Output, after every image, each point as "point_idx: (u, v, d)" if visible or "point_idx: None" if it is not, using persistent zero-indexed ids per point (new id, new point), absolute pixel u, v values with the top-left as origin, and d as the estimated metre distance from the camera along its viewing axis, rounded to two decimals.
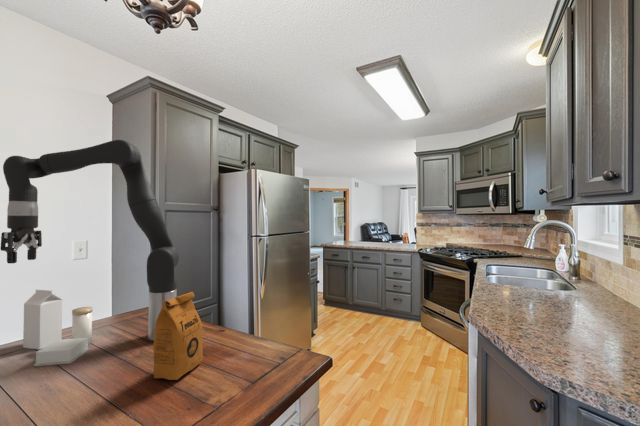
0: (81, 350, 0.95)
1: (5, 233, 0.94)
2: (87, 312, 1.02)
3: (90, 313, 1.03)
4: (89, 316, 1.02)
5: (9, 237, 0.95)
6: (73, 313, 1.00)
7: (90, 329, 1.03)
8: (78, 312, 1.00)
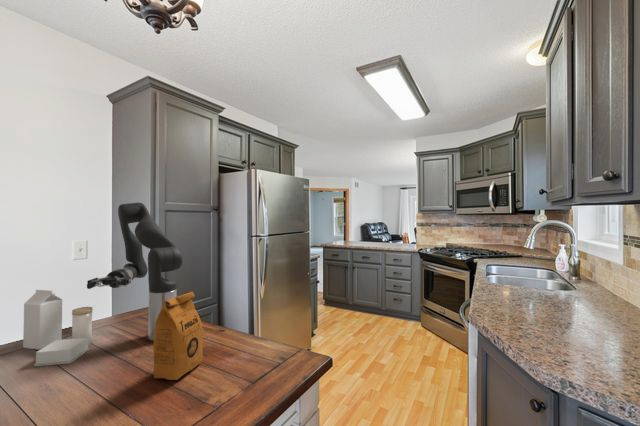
0: (81, 350, 0.95)
1: None
2: (87, 312, 1.02)
3: (90, 313, 1.03)
4: (89, 316, 1.02)
5: None
6: (73, 313, 1.00)
7: (90, 329, 1.03)
8: (78, 312, 1.00)
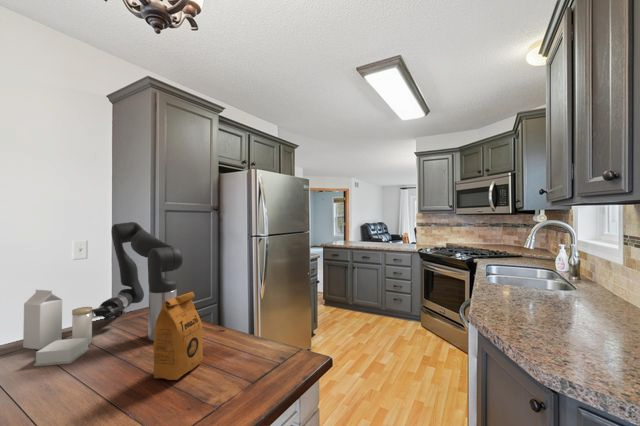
0: (81, 350, 0.95)
1: None
2: (87, 312, 1.02)
3: (90, 313, 1.03)
4: (89, 316, 1.02)
5: None
6: (73, 313, 1.00)
7: (90, 329, 1.03)
8: (78, 312, 1.00)
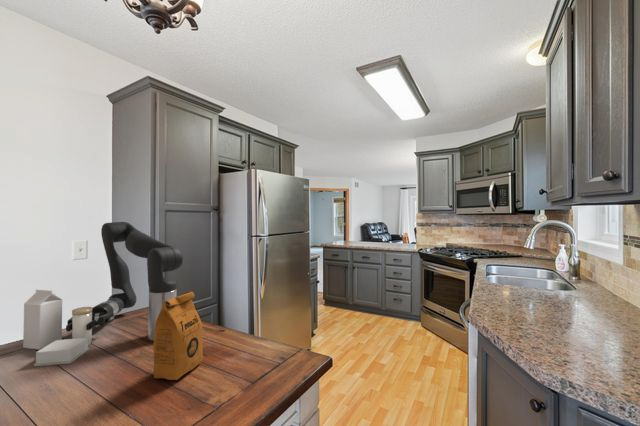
0: (81, 350, 0.95)
1: None
2: (87, 312, 1.02)
3: (90, 313, 1.03)
4: (89, 316, 1.02)
5: None
6: (73, 313, 1.00)
7: (90, 329, 1.03)
8: (78, 312, 1.00)
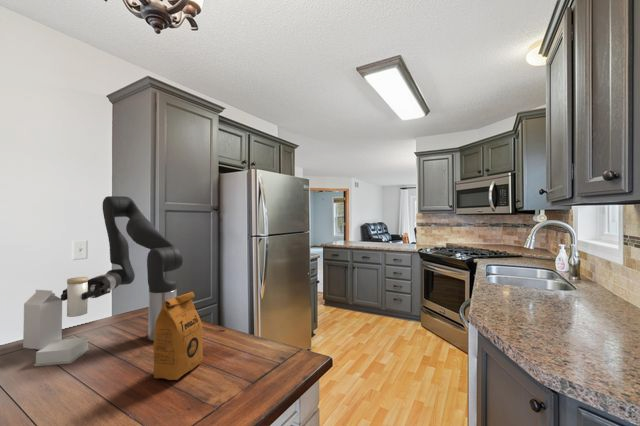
0: (81, 350, 0.95)
1: None
2: (82, 281, 0.99)
3: (86, 283, 1.00)
4: (84, 286, 1.00)
5: None
6: (68, 282, 0.97)
7: (86, 299, 1.00)
8: (73, 281, 0.97)
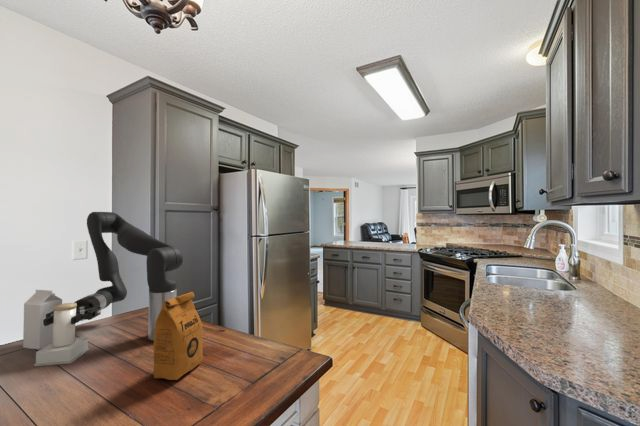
0: (81, 350, 0.95)
1: None
2: (70, 307, 0.93)
3: (74, 309, 0.94)
4: (72, 312, 0.94)
5: None
6: (55, 308, 0.91)
7: (73, 327, 0.94)
8: (60, 307, 0.91)
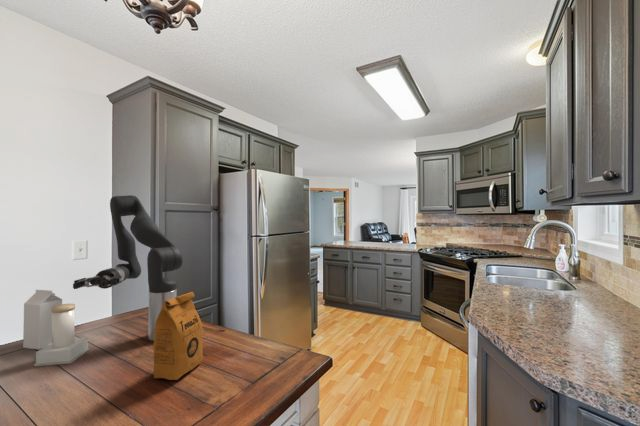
0: (81, 350, 0.95)
1: None
2: (68, 309, 0.92)
3: (72, 310, 0.93)
4: (71, 314, 0.93)
5: None
6: (52, 311, 0.90)
7: (72, 328, 0.93)
8: (58, 309, 0.90)
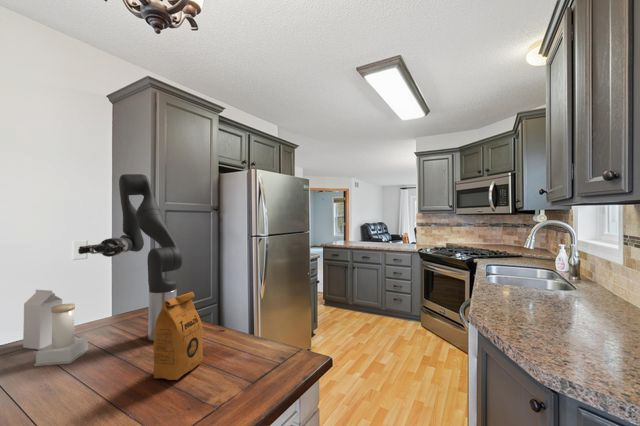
0: (81, 350, 0.95)
1: None
2: (68, 309, 0.92)
3: (72, 311, 0.93)
4: (70, 314, 0.93)
5: None
6: (52, 311, 0.90)
7: (72, 328, 0.93)
8: (57, 310, 0.90)
